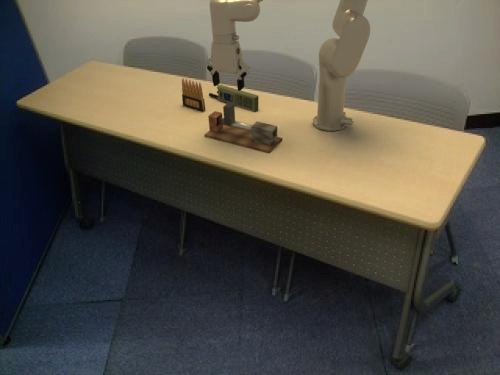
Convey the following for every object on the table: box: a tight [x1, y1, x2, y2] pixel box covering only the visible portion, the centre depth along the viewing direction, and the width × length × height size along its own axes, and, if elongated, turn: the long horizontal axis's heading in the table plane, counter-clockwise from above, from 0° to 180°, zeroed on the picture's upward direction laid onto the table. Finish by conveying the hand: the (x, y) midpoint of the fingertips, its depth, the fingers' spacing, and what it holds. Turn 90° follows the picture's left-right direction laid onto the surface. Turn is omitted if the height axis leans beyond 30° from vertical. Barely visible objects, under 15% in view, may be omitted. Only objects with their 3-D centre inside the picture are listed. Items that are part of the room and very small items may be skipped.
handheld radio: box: [208, 83, 259, 113], centre depth 194 cm, size 7×3×25 cm
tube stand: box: [204, 110, 283, 154], centre depth 170 cm, size 26×10×7 cm, turn 61°
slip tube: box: [217, 103, 253, 132], centre depth 168 cm, size 20×4×8 cm, turn 61°
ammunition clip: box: [181, 77, 206, 113], centre depth 190 cm, size 11×2×12 cm, turn 54°
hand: (228, 87), depth 164 cm, fingers open, 9 cm apart
